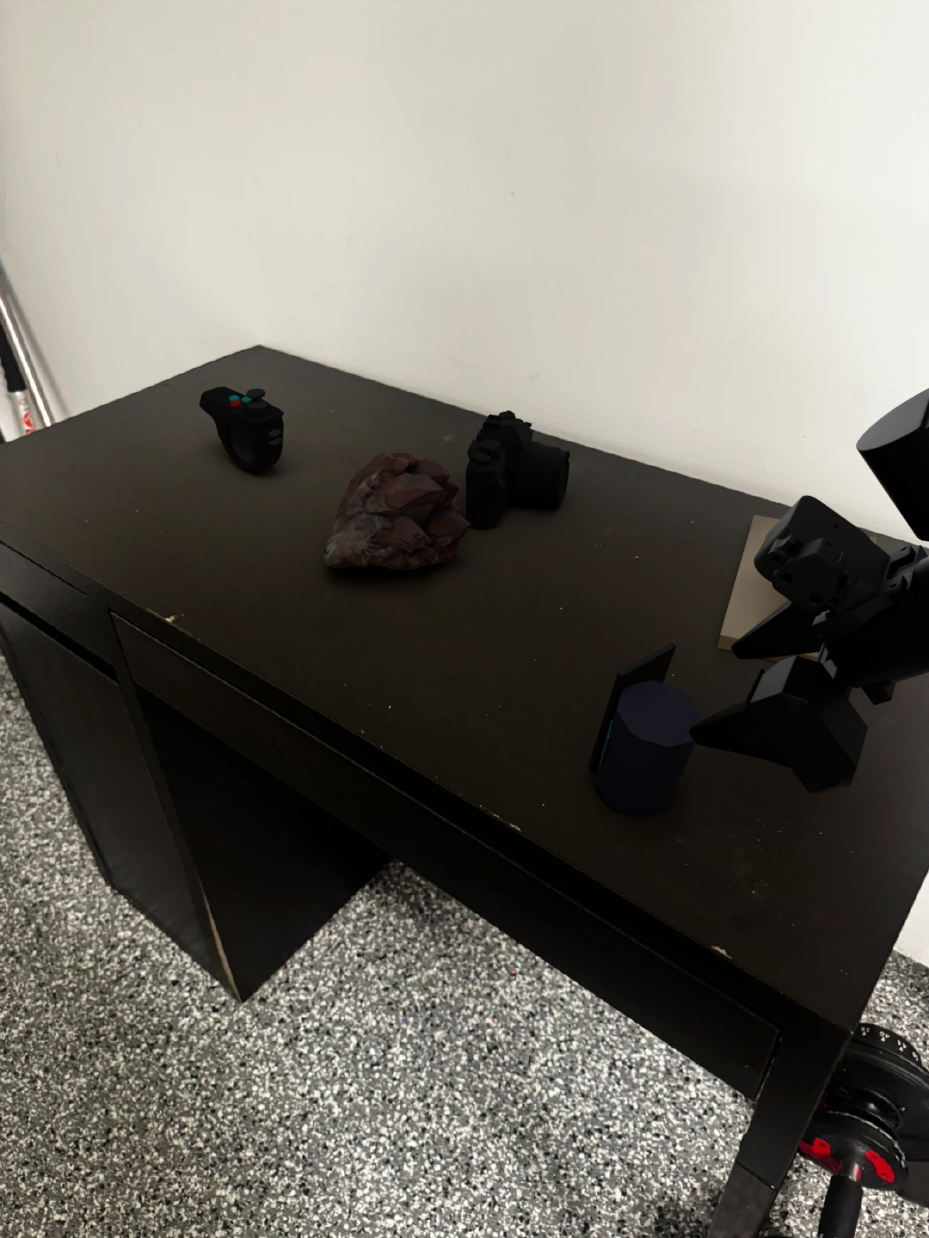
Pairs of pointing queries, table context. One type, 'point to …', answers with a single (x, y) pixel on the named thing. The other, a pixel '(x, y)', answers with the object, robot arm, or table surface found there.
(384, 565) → the mineral specimen
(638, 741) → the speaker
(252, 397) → the controller
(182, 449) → the table surface
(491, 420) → the film camera
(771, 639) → the robot arm
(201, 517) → the table surface
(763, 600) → the birch board
